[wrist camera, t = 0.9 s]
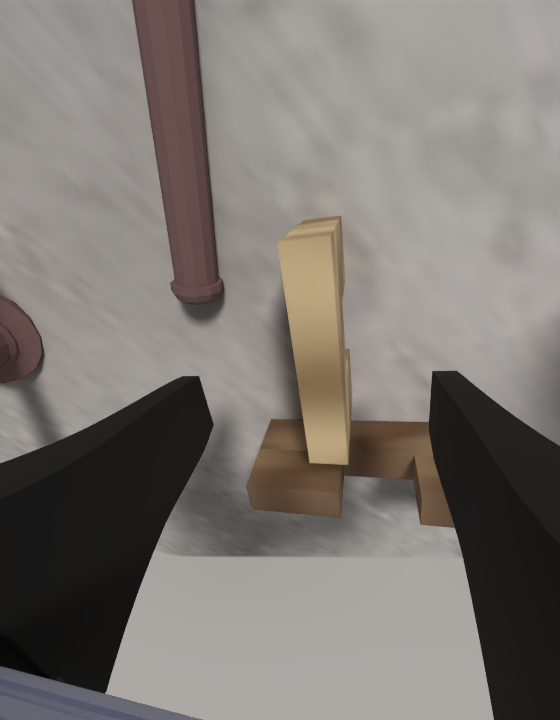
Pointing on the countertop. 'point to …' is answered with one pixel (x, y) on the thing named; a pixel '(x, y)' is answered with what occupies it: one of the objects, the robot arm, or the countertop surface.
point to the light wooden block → (319, 334)
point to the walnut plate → (345, 469)
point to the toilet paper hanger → (175, 167)
